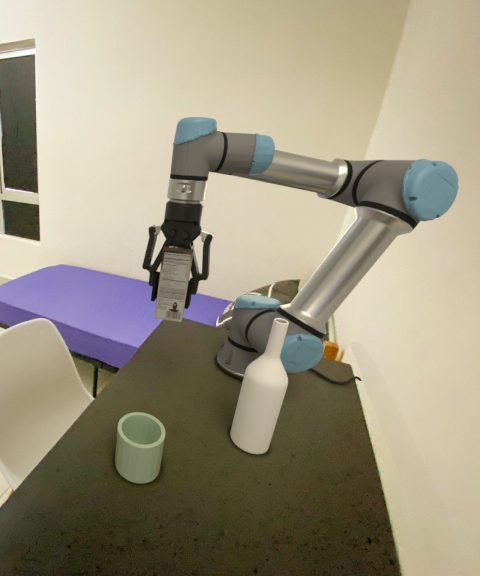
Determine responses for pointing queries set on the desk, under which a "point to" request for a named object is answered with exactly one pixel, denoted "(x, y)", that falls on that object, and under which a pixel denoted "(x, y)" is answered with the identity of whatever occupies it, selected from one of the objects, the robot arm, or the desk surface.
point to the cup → (139, 447)
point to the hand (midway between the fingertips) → (170, 302)
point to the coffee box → (173, 283)
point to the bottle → (261, 395)
